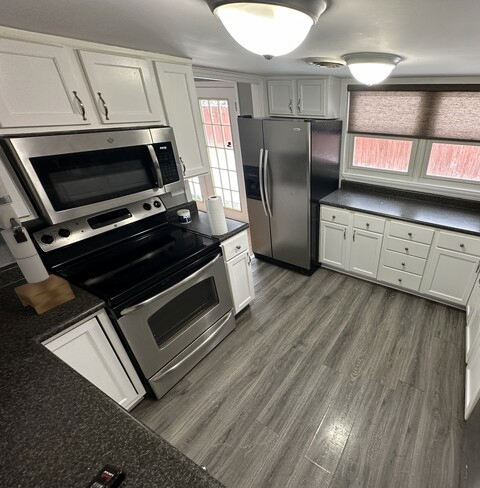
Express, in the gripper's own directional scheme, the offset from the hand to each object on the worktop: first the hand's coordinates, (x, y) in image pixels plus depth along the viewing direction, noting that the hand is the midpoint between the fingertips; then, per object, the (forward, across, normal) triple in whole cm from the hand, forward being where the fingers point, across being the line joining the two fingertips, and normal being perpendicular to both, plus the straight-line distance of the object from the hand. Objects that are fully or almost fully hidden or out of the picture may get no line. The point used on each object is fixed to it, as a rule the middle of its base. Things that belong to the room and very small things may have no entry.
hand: (18, 240), depth 115 cm
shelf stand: (+33, 0, 0) cm, 33 cm away
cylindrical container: (+20, 0, 0) cm, 20 cm away
